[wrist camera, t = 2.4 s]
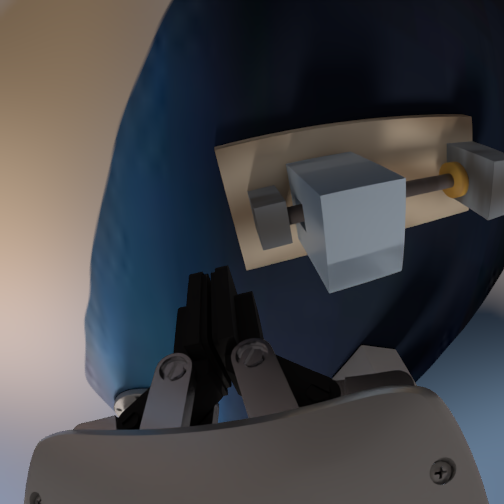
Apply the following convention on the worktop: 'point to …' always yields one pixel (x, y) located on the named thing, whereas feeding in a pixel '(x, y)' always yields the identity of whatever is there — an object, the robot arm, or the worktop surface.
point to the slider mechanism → (372, 148)
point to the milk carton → (371, 362)
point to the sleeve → (349, 217)
